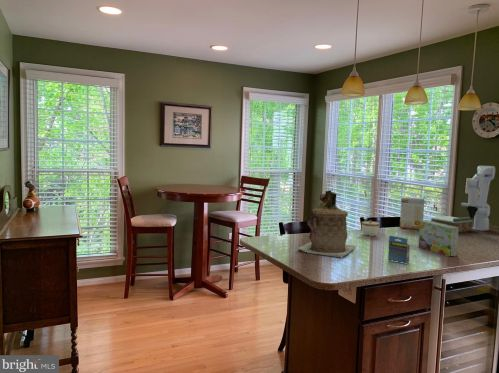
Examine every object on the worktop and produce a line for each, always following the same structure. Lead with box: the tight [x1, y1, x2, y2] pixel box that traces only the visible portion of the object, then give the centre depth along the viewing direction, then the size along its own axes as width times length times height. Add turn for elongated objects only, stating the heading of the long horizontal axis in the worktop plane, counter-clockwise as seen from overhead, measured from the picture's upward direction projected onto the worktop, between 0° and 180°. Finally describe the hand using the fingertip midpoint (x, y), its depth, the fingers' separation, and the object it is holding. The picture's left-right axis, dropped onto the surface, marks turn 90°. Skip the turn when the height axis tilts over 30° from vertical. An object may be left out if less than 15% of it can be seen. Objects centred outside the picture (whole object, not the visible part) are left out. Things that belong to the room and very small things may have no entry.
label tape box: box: [387, 235, 411, 264], centre depth 186 cm, size 9×4×12 cm, turn 48°
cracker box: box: [399, 196, 425, 231], centre depth 269 cm, size 14×6×21 cm, turn 58°
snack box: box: [418, 219, 459, 257], centre depth 207 cm, size 21×6×15 cm, turn 21°
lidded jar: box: [360, 219, 380, 237], centre depth 245 cm, size 11×11×9 cm
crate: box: [430, 219, 473, 233], centre depth 270 cm, size 18×18×6 cm
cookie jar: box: [296, 190, 356, 258], centre depth 204 cm, size 25×25×32 cm
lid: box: [430, 215, 474, 223], centre depth 269 cm, size 18×18×3 cm
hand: (471, 218), depth 257 cm, fingers closed
